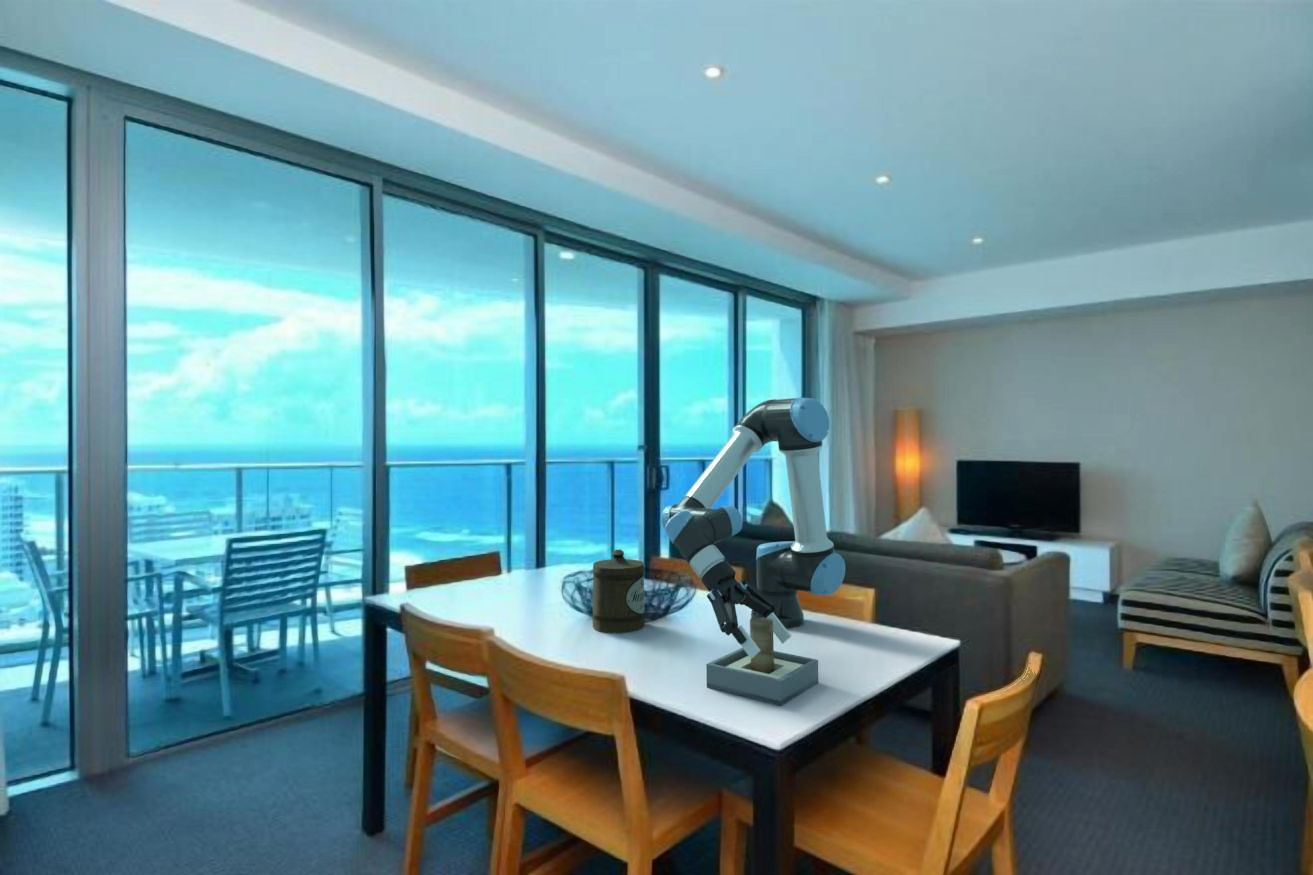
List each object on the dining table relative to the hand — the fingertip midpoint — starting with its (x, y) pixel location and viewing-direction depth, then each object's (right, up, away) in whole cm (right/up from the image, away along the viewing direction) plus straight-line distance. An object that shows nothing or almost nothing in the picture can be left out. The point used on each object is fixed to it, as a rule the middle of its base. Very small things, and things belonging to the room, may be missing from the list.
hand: (772, 647), depth 154 cm
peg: (-2, -8, +2) cm, 8 cm away
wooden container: (-36, -9, +50) cm, 62 cm away
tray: (-2, -9, +1) cm, 9 cm away
